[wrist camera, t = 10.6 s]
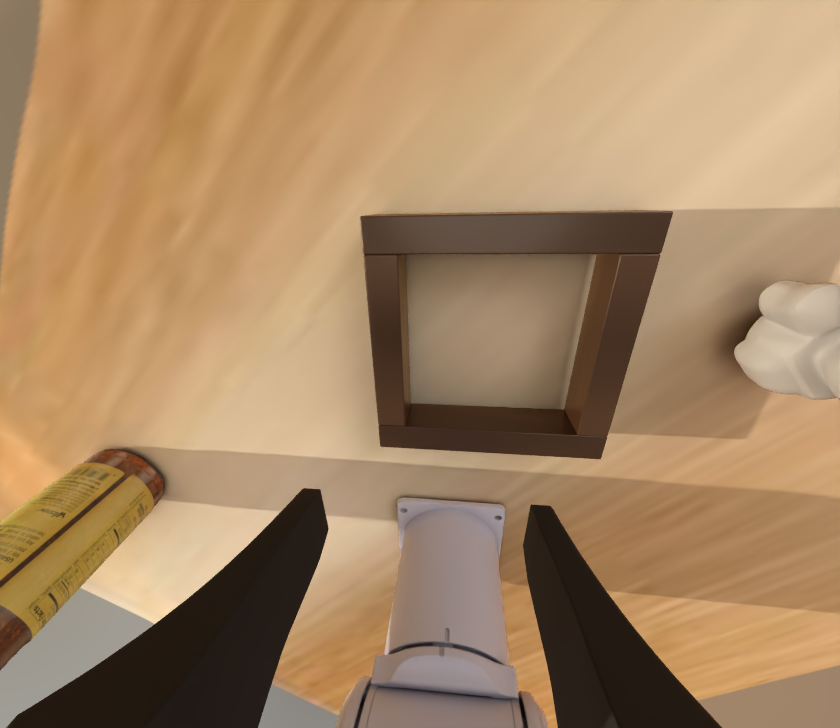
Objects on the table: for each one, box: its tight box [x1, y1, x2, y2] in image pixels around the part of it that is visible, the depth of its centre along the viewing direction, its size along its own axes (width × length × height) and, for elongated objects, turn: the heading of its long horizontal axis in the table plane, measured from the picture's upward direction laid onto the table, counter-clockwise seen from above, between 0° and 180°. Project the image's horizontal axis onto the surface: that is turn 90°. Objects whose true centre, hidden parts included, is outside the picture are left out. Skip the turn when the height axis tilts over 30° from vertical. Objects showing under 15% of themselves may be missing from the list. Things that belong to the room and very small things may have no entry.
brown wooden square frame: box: [360, 210, 673, 459], centre depth 17 cm, size 13×13×2 cm
